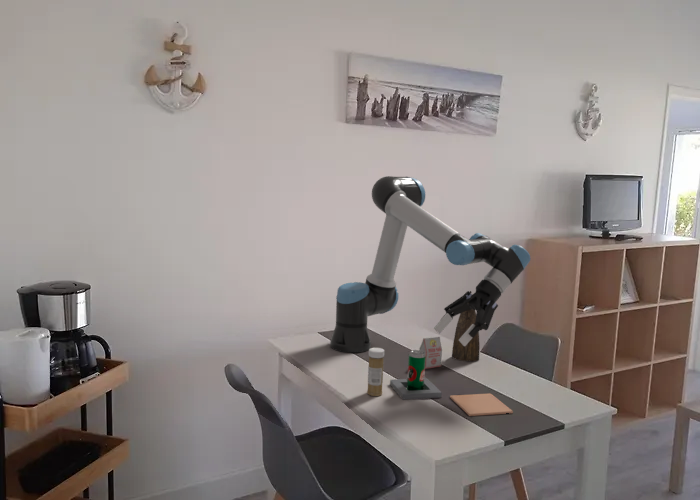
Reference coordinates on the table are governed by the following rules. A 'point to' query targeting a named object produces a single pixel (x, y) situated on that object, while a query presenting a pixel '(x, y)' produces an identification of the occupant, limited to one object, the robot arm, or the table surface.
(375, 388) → the sprinkles bottle
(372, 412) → the table surface
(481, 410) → the terracotta tile
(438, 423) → the table surface
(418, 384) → the soda can
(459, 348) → the statue
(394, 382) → the socket block
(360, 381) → the table surface
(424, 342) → the white red carton
